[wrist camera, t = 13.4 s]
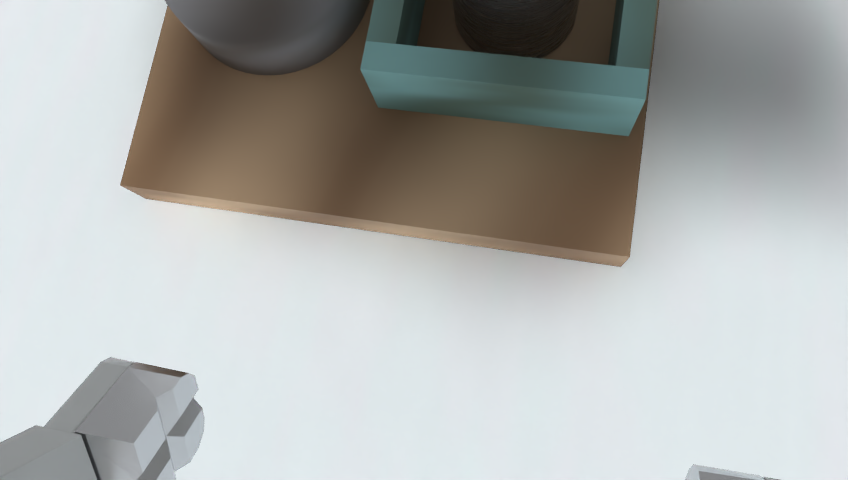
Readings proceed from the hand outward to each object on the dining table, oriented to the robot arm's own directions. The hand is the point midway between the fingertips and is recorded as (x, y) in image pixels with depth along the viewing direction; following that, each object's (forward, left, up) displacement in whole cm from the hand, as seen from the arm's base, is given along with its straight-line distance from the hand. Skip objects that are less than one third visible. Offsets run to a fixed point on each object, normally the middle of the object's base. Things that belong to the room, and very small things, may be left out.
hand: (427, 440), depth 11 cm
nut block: (-4, +11, -9) cm, 14 cm away
